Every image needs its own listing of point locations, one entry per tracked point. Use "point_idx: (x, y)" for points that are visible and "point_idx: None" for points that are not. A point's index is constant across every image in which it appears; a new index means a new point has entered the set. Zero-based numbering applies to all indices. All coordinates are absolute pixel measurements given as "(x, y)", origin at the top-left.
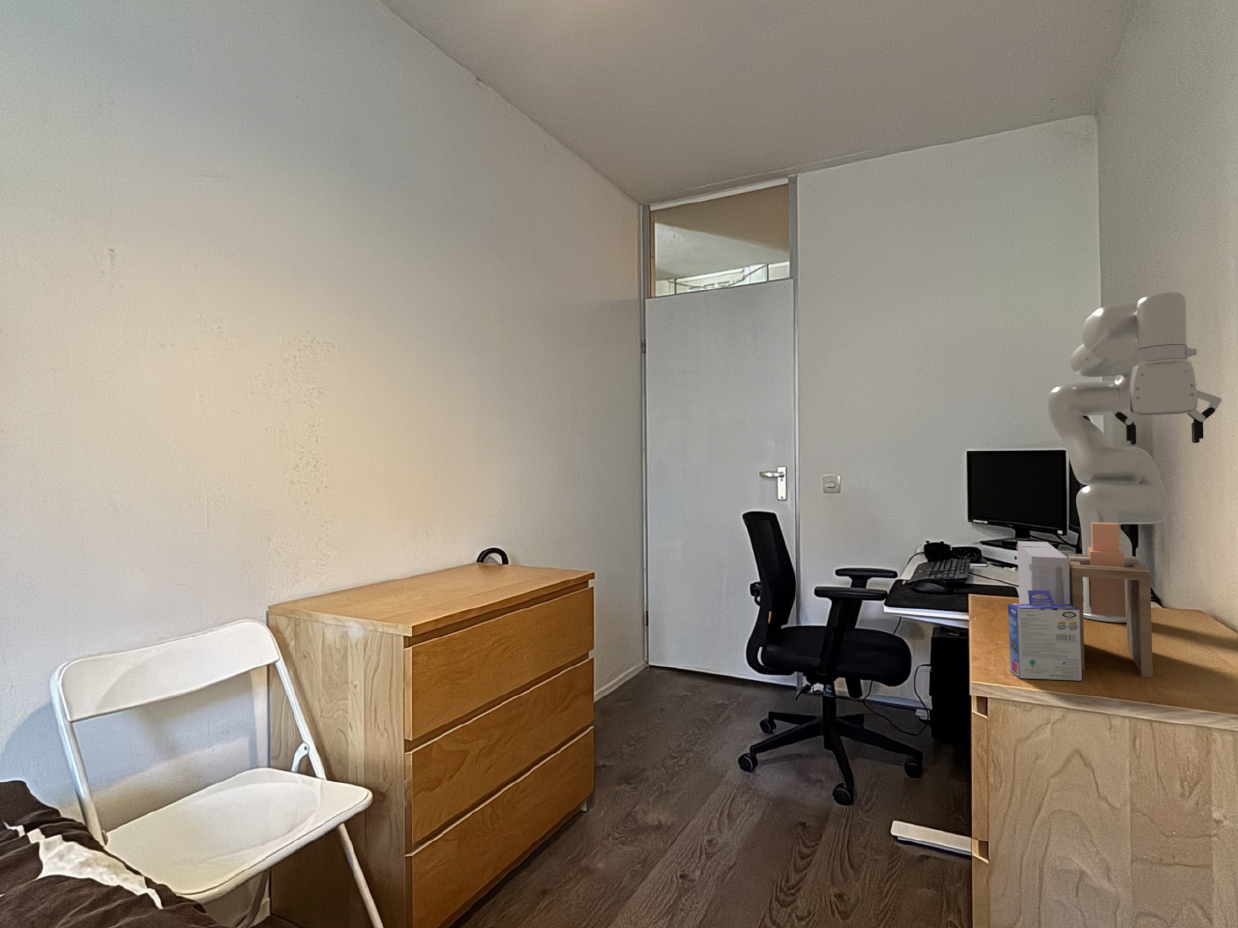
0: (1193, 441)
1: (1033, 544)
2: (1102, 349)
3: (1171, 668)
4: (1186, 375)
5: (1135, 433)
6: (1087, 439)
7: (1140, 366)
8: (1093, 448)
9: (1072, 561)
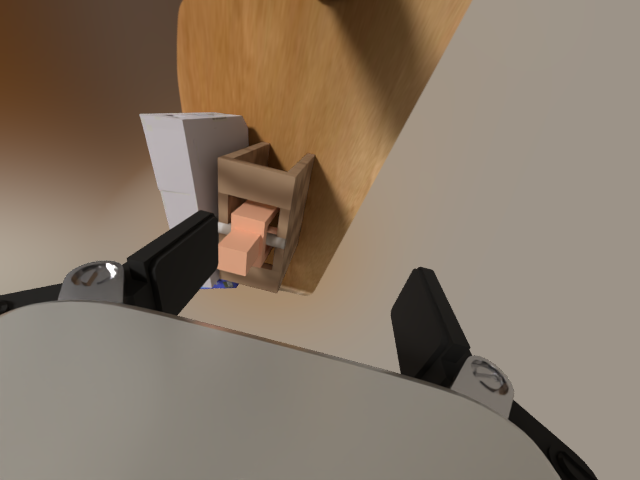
0: (400, 296)
1: (168, 162)
2: None
3: (318, 218)
4: None
5: (191, 296)
6: None
7: None
8: None
9: (221, 237)
